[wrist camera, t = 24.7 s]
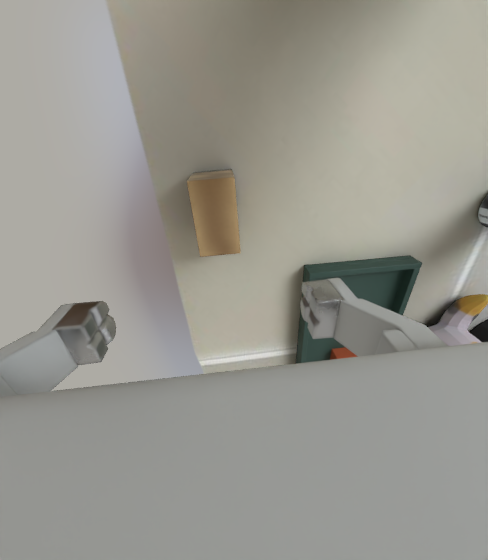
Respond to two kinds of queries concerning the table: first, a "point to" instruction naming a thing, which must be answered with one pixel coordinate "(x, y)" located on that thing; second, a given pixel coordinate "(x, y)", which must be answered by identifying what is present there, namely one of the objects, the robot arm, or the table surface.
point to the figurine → (460, 320)
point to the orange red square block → (341, 353)
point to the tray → (359, 293)
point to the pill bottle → (483, 212)
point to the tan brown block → (214, 212)
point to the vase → (481, 332)
